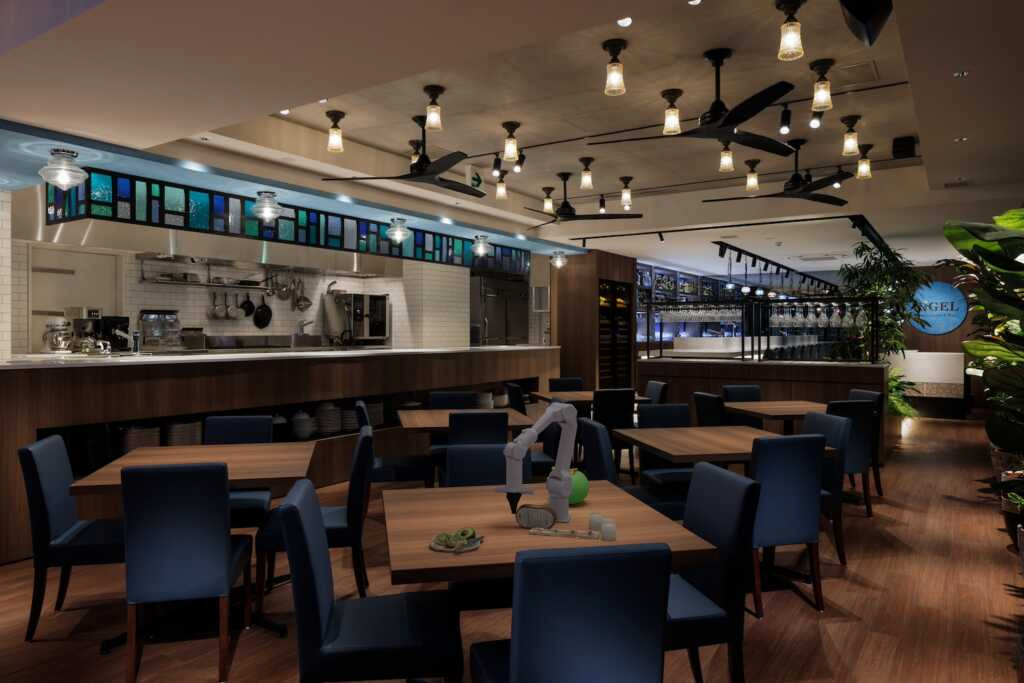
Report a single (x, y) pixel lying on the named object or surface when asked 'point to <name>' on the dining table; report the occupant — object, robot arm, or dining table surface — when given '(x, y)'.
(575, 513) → the dining table surface
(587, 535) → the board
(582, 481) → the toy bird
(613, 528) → the cylindrical block
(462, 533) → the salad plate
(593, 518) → the cylindrical block
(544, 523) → the tin
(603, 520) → the cylindrical block
